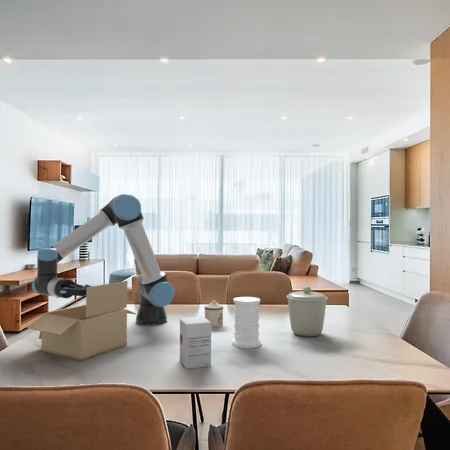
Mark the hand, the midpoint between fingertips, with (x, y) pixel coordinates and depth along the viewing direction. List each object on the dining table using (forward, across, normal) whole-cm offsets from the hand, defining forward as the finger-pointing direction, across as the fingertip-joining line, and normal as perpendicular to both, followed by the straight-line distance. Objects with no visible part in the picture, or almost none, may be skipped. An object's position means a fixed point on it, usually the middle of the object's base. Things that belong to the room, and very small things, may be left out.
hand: (103, 293), depth 141 cm
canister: (+56, -66, -22) cm, 89 cm away
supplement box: (+35, -10, -22) cm, 42 cm away
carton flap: (0, -2, -8) cm, 8 cm away
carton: (-13, -1, -22) cm, 26 cm away
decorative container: (+39, -39, -22) cm, 60 cm away
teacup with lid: (+12, -59, -22) cm, 64 cm away
